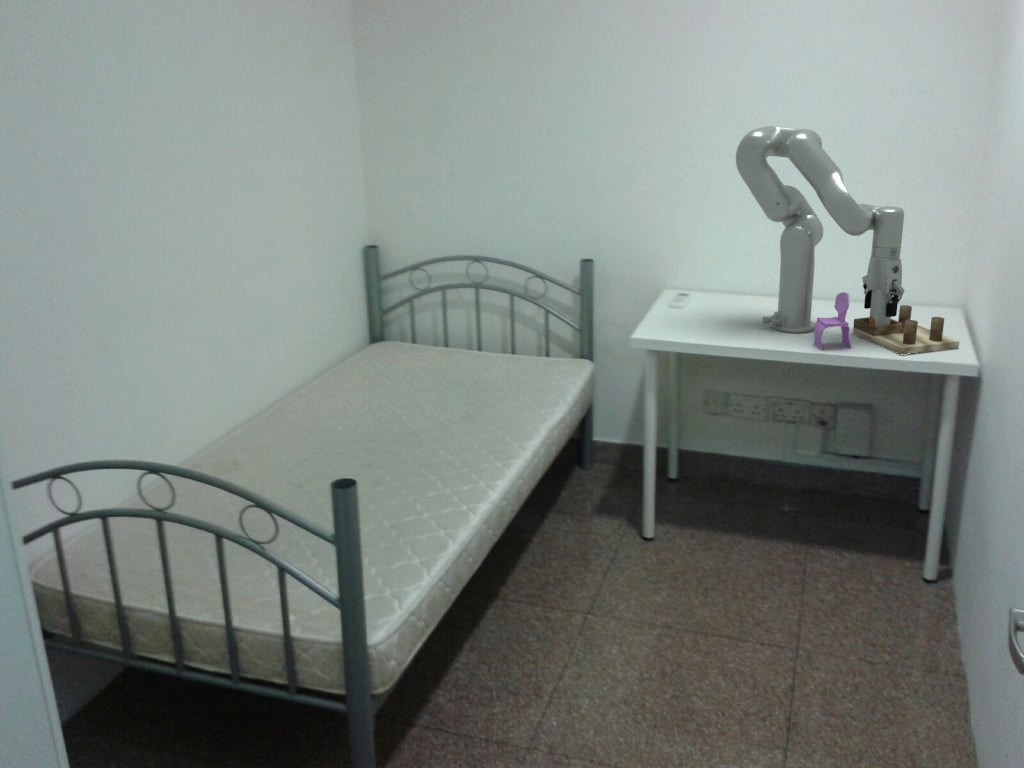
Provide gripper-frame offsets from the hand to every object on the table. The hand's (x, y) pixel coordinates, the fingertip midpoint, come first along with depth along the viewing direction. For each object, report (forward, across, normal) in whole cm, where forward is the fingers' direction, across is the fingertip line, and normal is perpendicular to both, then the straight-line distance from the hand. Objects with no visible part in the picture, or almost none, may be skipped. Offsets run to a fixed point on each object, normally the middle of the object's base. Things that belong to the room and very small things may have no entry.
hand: (879, 312), depth 275 cm
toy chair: (+7, -3, +17) cm, 19 cm away
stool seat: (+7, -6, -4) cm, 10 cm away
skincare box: (+5, 0, 0) cm, 5 cm away
